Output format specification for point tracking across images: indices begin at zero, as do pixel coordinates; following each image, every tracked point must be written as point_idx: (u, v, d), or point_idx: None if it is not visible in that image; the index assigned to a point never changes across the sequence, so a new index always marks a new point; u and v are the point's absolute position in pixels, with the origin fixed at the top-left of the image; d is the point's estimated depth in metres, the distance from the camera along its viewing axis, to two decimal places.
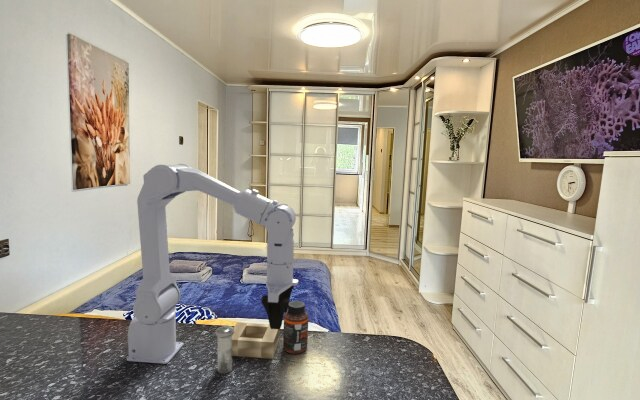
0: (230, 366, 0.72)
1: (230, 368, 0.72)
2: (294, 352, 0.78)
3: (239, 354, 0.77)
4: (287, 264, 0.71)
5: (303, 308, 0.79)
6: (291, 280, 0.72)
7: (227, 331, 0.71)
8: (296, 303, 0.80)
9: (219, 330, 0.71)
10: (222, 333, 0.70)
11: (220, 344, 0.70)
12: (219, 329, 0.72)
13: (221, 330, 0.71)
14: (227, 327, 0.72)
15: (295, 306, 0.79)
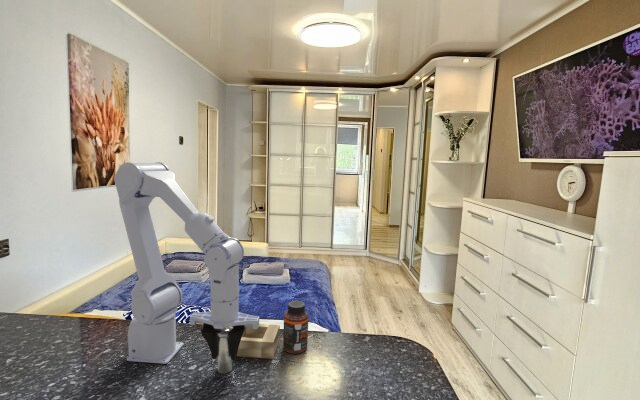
0: (230, 366, 0.72)
1: (230, 368, 0.72)
2: (294, 352, 0.78)
3: (239, 354, 0.77)
4: (211, 300, 0.69)
5: (303, 308, 0.79)
6: (216, 320, 0.68)
7: (227, 331, 0.71)
8: (296, 303, 0.80)
9: (219, 330, 0.71)
10: (222, 333, 0.70)
11: (220, 344, 0.70)
12: (219, 329, 0.72)
13: (221, 330, 0.71)
14: (227, 327, 0.72)
15: (295, 306, 0.79)
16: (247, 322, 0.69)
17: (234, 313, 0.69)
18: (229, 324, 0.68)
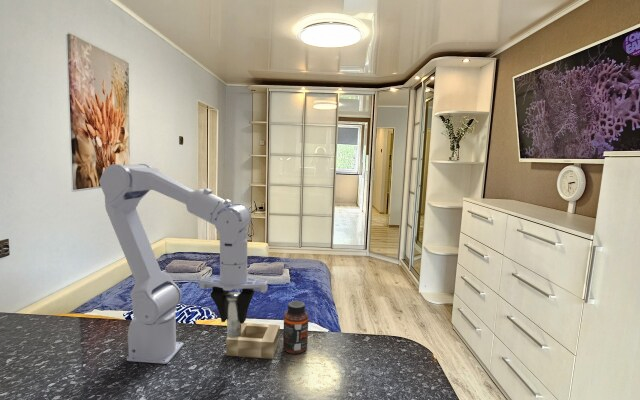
0: (239, 331, 0.73)
1: (239, 333, 0.73)
2: (294, 352, 0.78)
3: (239, 354, 0.77)
4: (220, 263, 0.70)
5: (303, 308, 0.79)
6: (225, 283, 0.70)
7: (236, 296, 0.72)
8: (296, 303, 0.80)
9: (228, 295, 0.73)
10: (231, 297, 0.71)
11: (229, 308, 0.72)
12: (228, 294, 0.73)
13: (230, 295, 0.73)
14: (236, 293, 0.74)
15: (295, 306, 0.79)
16: (255, 285, 0.71)
17: (243, 277, 0.71)
18: (238, 287, 0.70)
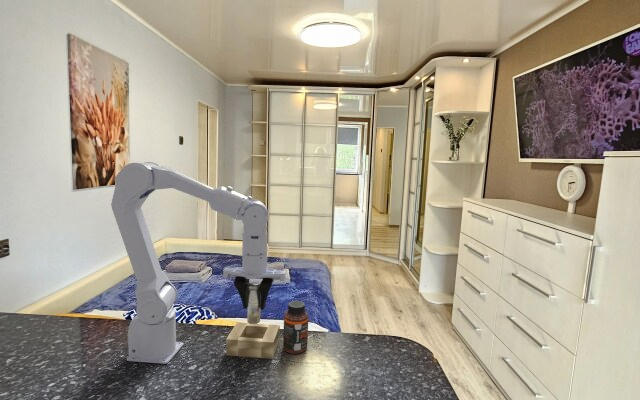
0: (258, 318, 0.79)
1: (258, 320, 0.79)
2: (294, 352, 0.78)
3: (239, 354, 0.77)
4: (243, 254, 0.76)
5: (303, 308, 0.79)
6: (248, 272, 0.76)
7: (256, 285, 0.78)
8: (296, 303, 0.80)
9: (249, 284, 0.79)
10: (252, 286, 0.78)
11: (251, 296, 0.78)
12: (249, 283, 0.79)
13: (251, 284, 0.79)
14: (256, 282, 0.80)
15: (295, 306, 0.79)
16: (275, 274, 0.77)
17: (264, 267, 0.77)
18: (259, 276, 0.76)
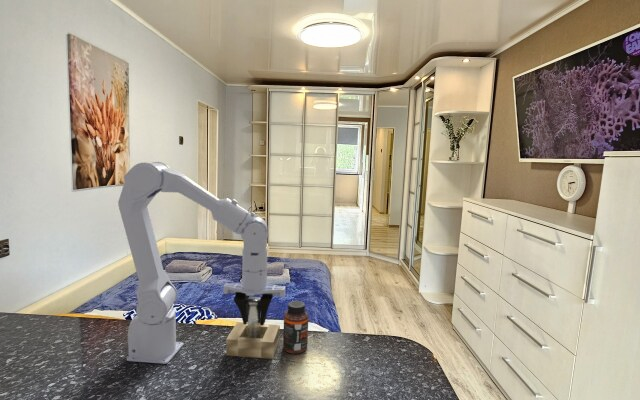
0: (258, 333, 0.79)
1: (258, 335, 0.79)
2: (294, 352, 0.78)
3: (239, 354, 0.77)
4: (243, 270, 0.77)
5: (303, 308, 0.79)
6: (248, 288, 0.76)
7: (256, 300, 0.79)
8: (296, 303, 0.80)
9: (249, 299, 0.79)
10: (252, 301, 0.78)
11: (250, 312, 0.78)
12: (249, 299, 0.80)
13: (251, 299, 0.79)
14: (256, 298, 0.81)
15: (295, 306, 0.79)
16: (275, 290, 0.78)
17: (264, 283, 0.78)
18: (259, 292, 0.77)
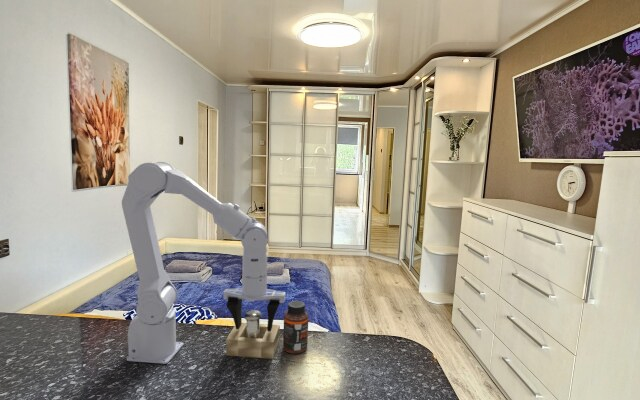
0: None
1: None
2: (294, 352, 0.78)
3: (239, 354, 0.77)
4: (243, 276, 0.77)
5: (303, 308, 0.79)
6: (248, 294, 0.77)
7: (255, 315, 0.78)
8: (296, 303, 0.80)
9: (248, 314, 0.79)
10: (251, 317, 0.77)
11: (249, 327, 0.78)
12: (248, 313, 0.79)
13: (250, 314, 0.79)
14: (255, 311, 0.80)
15: (295, 306, 0.79)
16: (275, 296, 0.78)
17: (263, 289, 0.78)
18: (259, 298, 0.77)
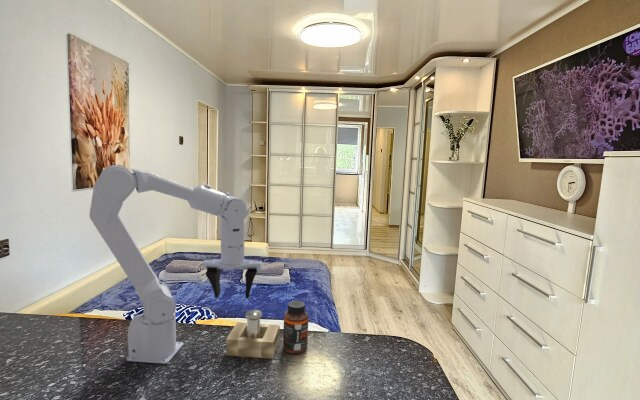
0: None
1: None
2: (294, 352, 0.78)
3: (239, 354, 0.77)
4: (222, 246, 0.81)
5: (303, 308, 0.79)
6: (226, 263, 0.81)
7: (256, 314, 0.79)
8: (296, 303, 0.80)
9: (249, 313, 0.79)
10: (252, 316, 0.78)
11: (250, 326, 0.78)
12: (248, 312, 0.80)
13: (251, 313, 0.79)
14: (255, 311, 0.80)
15: (295, 306, 0.79)
16: (252, 264, 0.83)
17: (241, 258, 0.83)
18: (238, 266, 0.82)
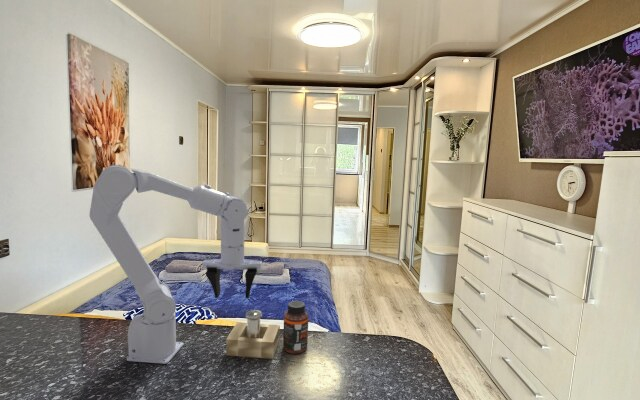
0: None
1: None
2: (294, 352, 0.78)
3: (239, 354, 0.77)
4: (222, 246, 0.81)
5: (303, 308, 0.79)
6: (226, 263, 0.81)
7: (256, 314, 0.79)
8: (296, 303, 0.80)
9: (249, 313, 0.79)
10: (252, 316, 0.78)
11: (250, 326, 0.78)
12: (249, 312, 0.80)
13: (251, 313, 0.79)
14: (255, 311, 0.80)
15: (295, 306, 0.79)
16: (252, 264, 0.83)
17: (241, 258, 0.83)
18: (238, 266, 0.82)
